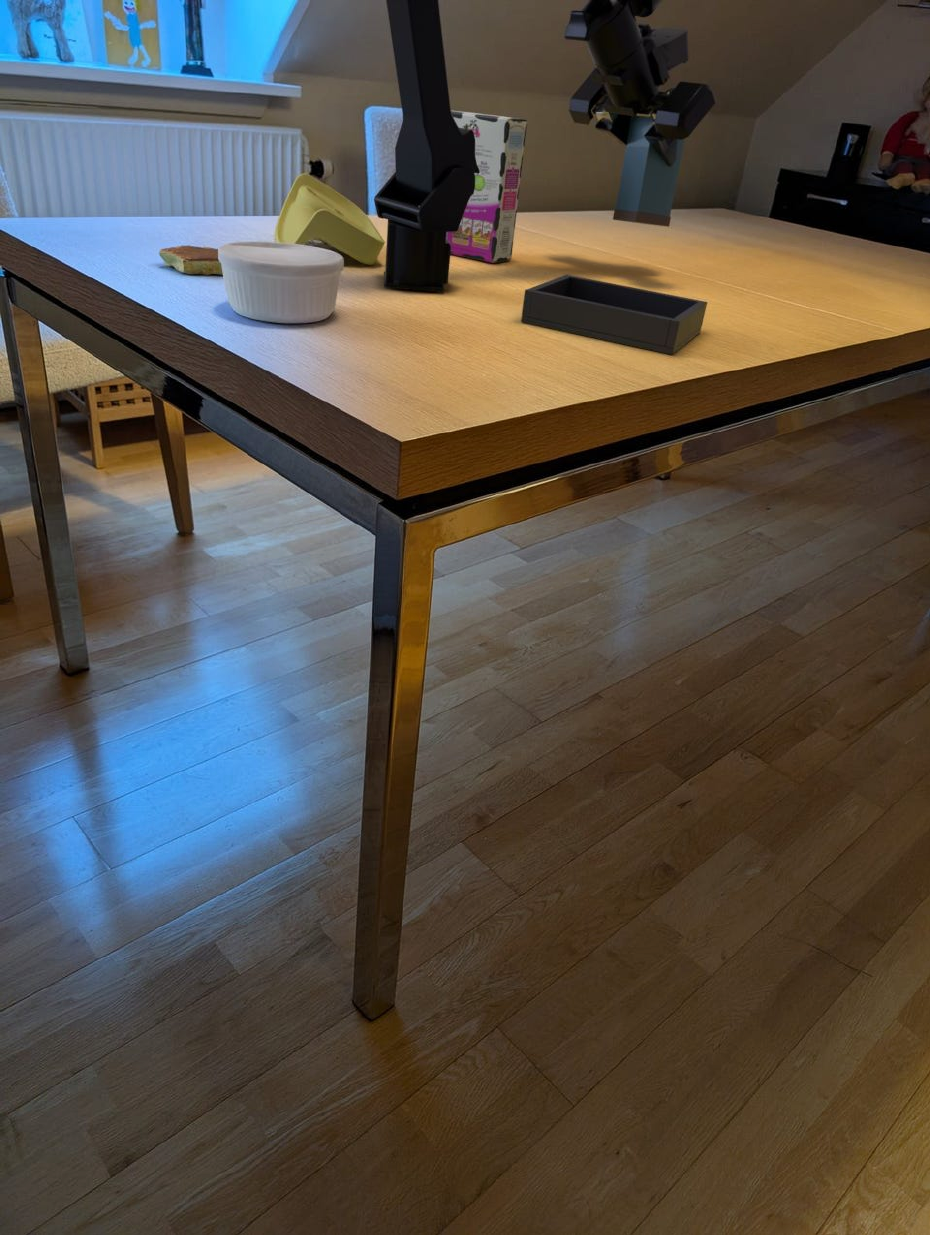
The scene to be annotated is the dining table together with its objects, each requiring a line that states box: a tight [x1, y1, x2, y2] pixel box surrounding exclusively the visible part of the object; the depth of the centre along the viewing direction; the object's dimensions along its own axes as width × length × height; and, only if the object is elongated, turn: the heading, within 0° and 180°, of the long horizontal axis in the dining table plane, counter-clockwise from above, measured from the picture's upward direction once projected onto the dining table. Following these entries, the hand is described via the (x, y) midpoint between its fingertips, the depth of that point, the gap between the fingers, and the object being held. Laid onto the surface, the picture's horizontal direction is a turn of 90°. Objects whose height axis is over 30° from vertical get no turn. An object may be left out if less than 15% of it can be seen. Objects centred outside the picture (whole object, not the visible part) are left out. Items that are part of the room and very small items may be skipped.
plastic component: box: [274, 173, 386, 266], centre depth 109 cm, size 20×7×10 cm
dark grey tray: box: [520, 274, 708, 356], centre depth 89 cm, size 16×12×3 cm
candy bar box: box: [446, 110, 528, 264], centre depth 113 cm, size 11×5×16 cm, turn 56°
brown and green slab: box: [158, 245, 223, 276], centre depth 93 cm, size 11×8×2 cm
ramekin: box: [217, 240, 345, 324], centre depth 80 cm, size 11×11×5 cm
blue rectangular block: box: [612, 115, 686, 227], centre depth 111 cm, size 6×4×14 cm
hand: (659, 161), depth 112 cm, fingers closed on blue rectangular block, 4 cm apart
